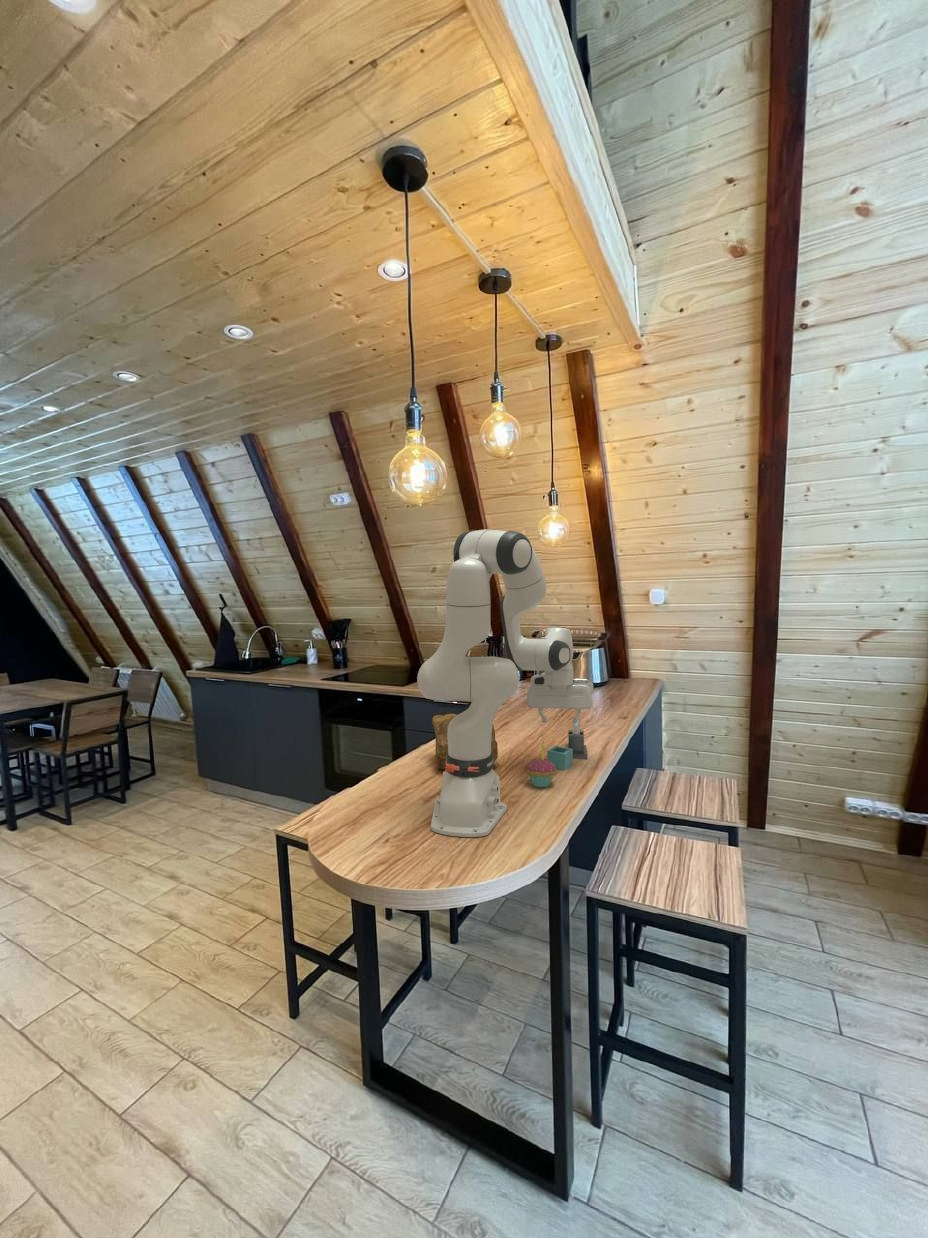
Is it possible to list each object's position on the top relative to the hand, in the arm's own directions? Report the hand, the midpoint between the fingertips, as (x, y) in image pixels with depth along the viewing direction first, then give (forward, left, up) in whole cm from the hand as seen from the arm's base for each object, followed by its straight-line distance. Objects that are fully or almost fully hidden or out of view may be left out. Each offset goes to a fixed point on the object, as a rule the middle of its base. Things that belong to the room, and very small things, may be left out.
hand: (559, 722), depth 154 cm
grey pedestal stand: (+14, -5, -14) cm, 21 cm away
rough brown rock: (-5, +32, -14) cm, 35 cm away
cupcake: (-15, +5, -14) cm, 21 cm away
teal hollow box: (+1, 0, -14) cm, 14 cm away
